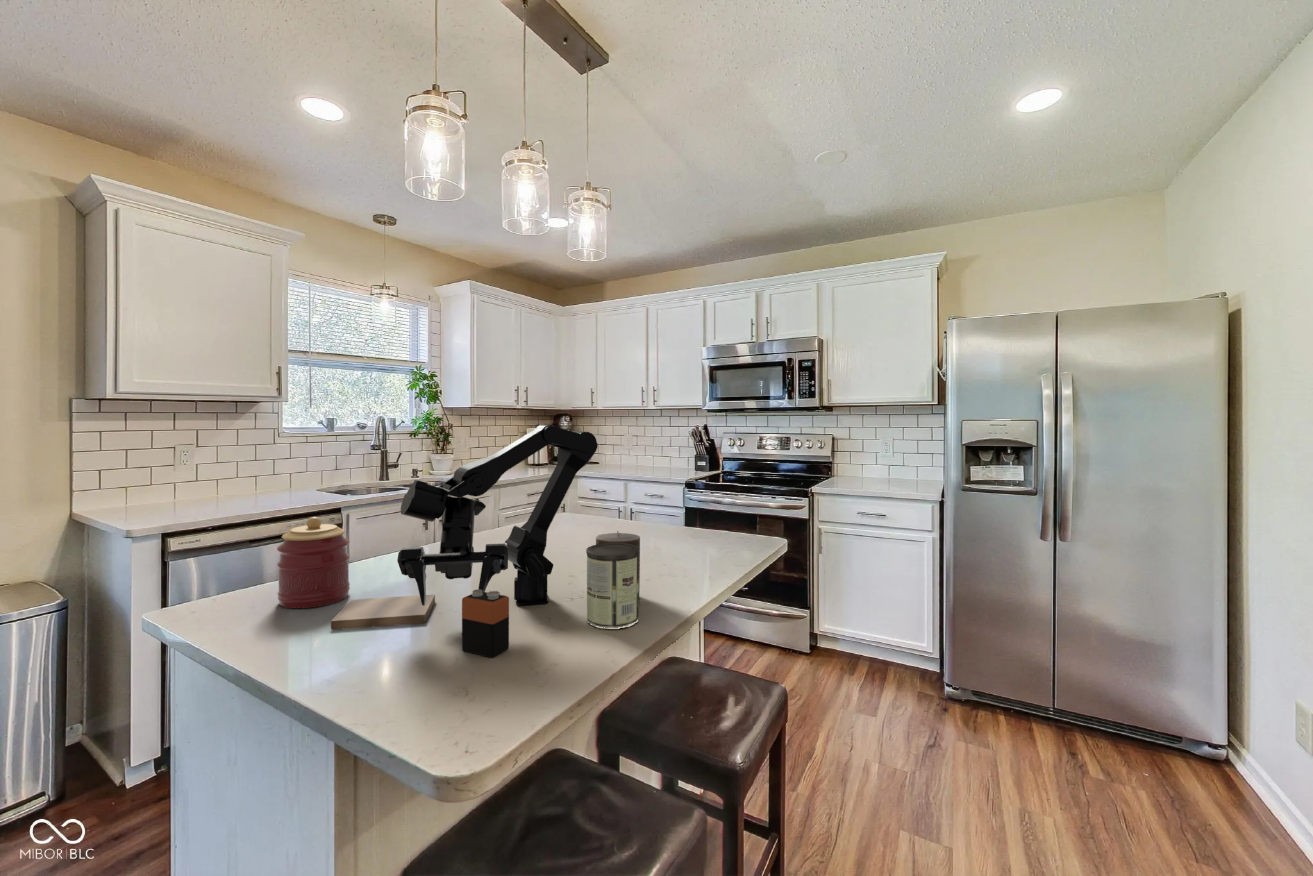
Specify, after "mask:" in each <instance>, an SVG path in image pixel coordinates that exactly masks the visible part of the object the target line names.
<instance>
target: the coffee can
mask: <svg viewBox="0 0 1313 876" xmlns="http://www.w3.org/2000/svg"><path fill="white" fill-rule="evenodd" d="M585 552H586V553H585V554H586V623H587V622H589V623H590V624H592V625H593V626H599V627H603V628H604V627H605V628H618V627H623V626H628V625H629V624H632V623H634V622H636V621H637V620H638V617H639V614H640V613H639V612H640V611H639V610H640V609H639V607H640V605H639V603H640V602H639V601H640V588H639V552H640V553H641V547H640V548H639V547H637V546H635V545H632V544H626V543H603V544H596V543H595V544H593V545H590V546H588V547H587V548H586V549H585ZM639 618H640V617H639Z"/></svg>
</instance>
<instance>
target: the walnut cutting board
mask: <svg viewBox="0 0 1313 876" xmlns="http://www.w3.org/2000/svg"><path fill="white" fill-rule="evenodd" d="M435 602H436V594H426V601H425V605H424V606H422V603H421V598H420V594H419V595H407V596H406V595H405V596H390V597H389V596H388V597H387V596H386V597H374V598H358V599H357V598H356V599H354V598H353V599H350V600H349V601H348V602H347V603H346V605H345V606H344V607H343V608H342V609H341V610H340V611H339V612H338V613H337V614H336V615H335V616H334V617H333V618H332V619H331V620H330V629H333V630H345V628H347V629H357V628H358V629H360V628H371V627H372V626H375V627H384V626H385V627H386V626H387V625H388V626H399V625H400V626H401V625H413V624H425V623H426V621H427V619H428V617H429V615H430V614H431V611H432V609H433V607H434V605H435ZM343 628H344V629H343ZM372 628H373V627H372Z"/></svg>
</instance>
